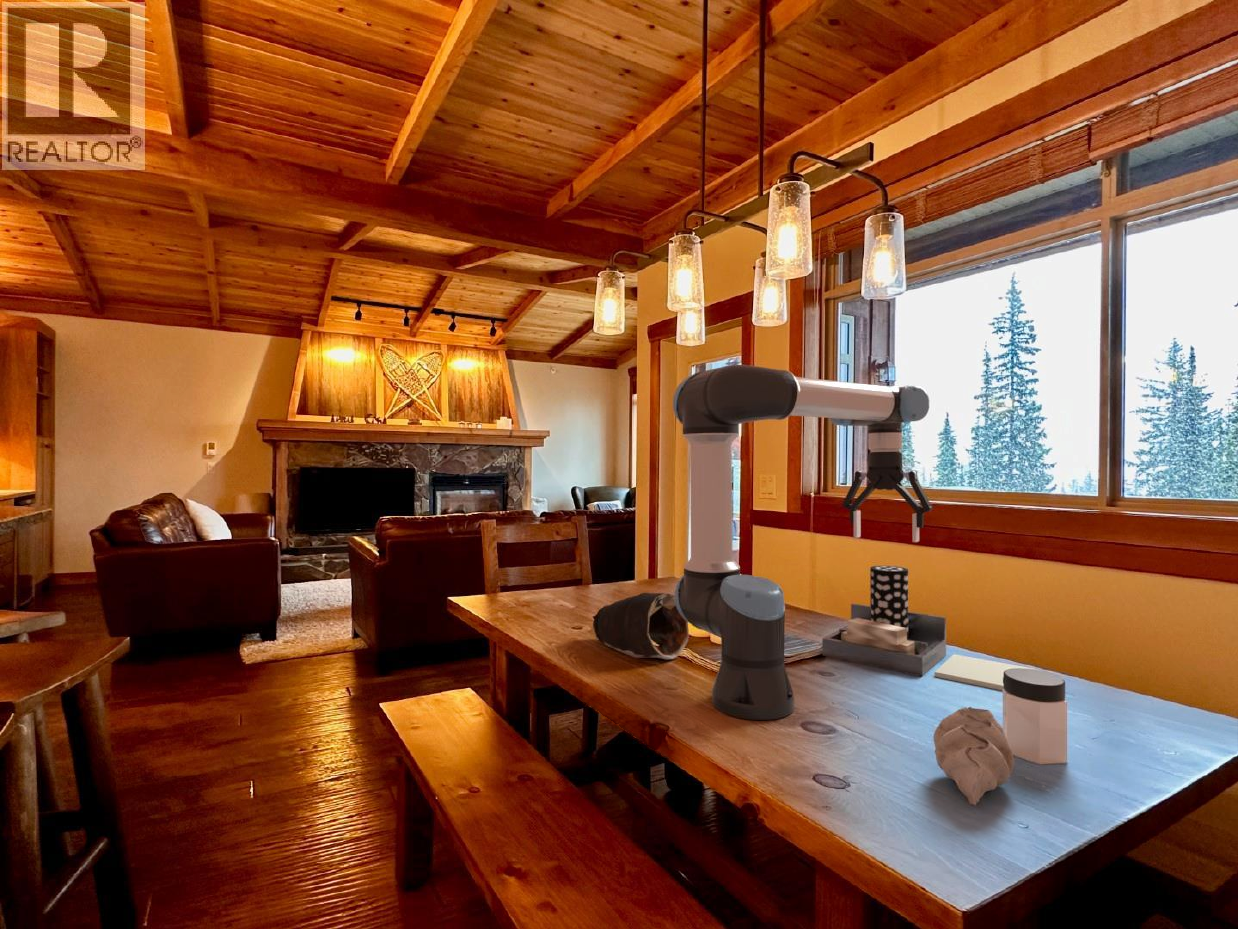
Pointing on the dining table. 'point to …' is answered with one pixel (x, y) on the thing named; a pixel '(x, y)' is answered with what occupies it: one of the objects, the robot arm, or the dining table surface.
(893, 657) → the tray
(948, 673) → the mat
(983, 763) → the seashell
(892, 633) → the offcut top
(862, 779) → the dining table surface
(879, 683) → the dining table surface
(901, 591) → the spotted tube
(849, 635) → the offcut middle
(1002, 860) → the dining table surface
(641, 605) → the clay pot
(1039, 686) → the jar
